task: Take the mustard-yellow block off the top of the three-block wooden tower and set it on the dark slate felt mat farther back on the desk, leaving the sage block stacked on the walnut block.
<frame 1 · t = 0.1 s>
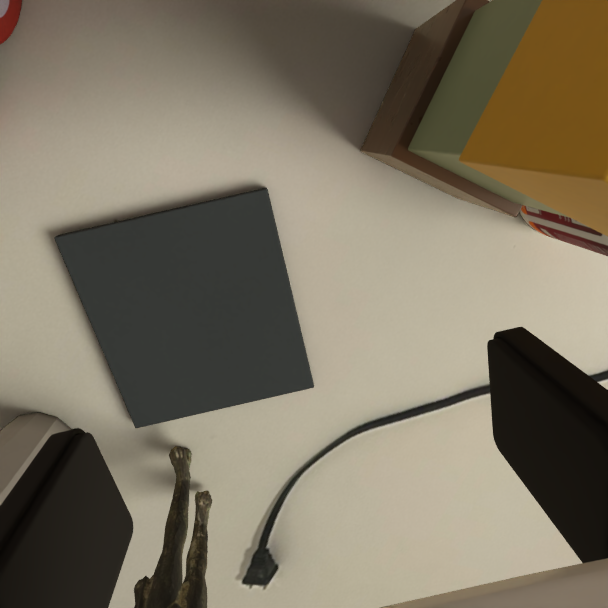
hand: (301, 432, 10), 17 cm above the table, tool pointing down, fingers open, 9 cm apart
pill bottle: (560, 182, 26), on the table
top block: (597, 104, 13), point 12 cm above the table, touching middle block
bottom block: (438, 119, 24), on the table, touching middle block
cup: (42, 439, 30), on the table
statue: (201, 463, 31), on the table
felt mat: (196, 315, 27), on the table
middle block: (495, 113, 18), point 6 cm above the table, touching bottom block, top block
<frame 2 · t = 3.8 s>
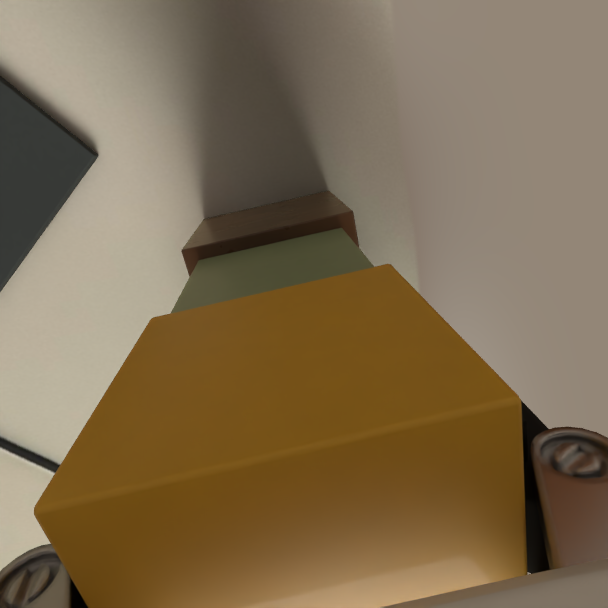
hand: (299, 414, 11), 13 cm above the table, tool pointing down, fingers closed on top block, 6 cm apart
top block: (296, 392, 12), point 12 cm above the table, touching gripper, middle block
bottom block: (280, 265, 24), on the table, touching middle block
middle block: (286, 310, 17), point 6 cm above the table, touching bottom block, top block
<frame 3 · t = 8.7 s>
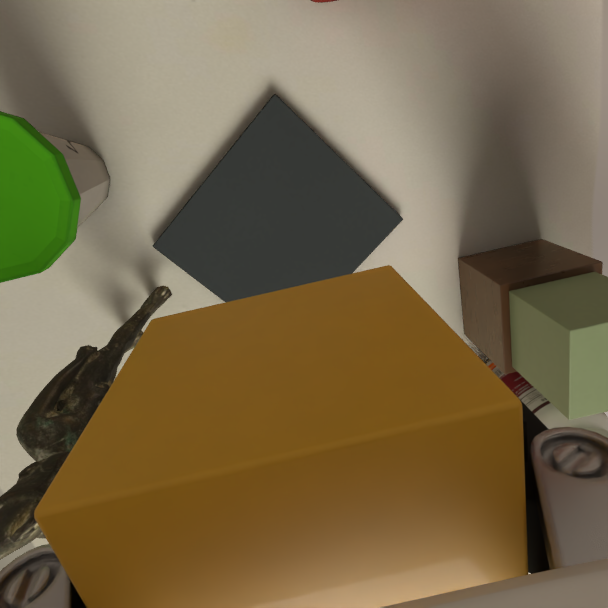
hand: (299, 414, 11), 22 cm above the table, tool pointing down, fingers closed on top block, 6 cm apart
pill bottle: (505, 379, 38), on the table
top block: (296, 393, 12), point 21 cm above the table, touching gripper
bottom block: (501, 288, 35), on the table, touching middle block
cup: (75, 177, 29), on the table
statue: (152, 314, 33), on the table
felt mat: (279, 231, 32), on the table
middle block: (551, 320, 29), point 6 cm above the table, touching bottom block
when the fingers open (2 cm above the table, at t = 13.6 s): top block stays where it is, resting on felt mat.
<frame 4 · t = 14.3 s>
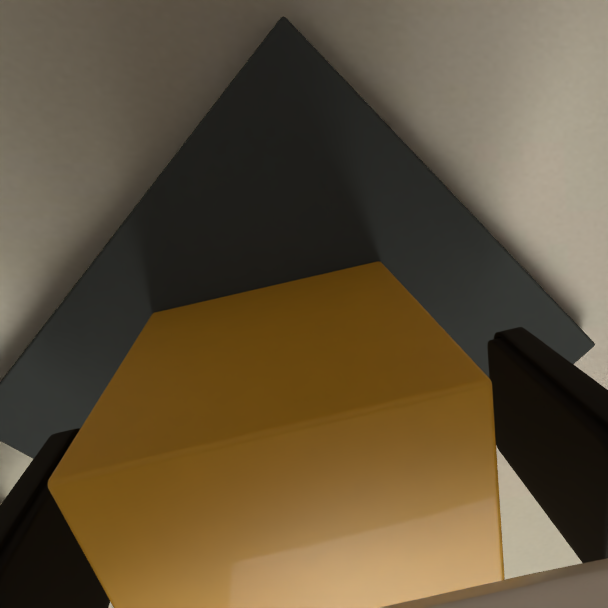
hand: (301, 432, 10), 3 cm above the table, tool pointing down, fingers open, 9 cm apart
top block: (291, 384, 12), point 1 cm above the table, touching felt mat
felt mat: (291, 372, 13), on the table
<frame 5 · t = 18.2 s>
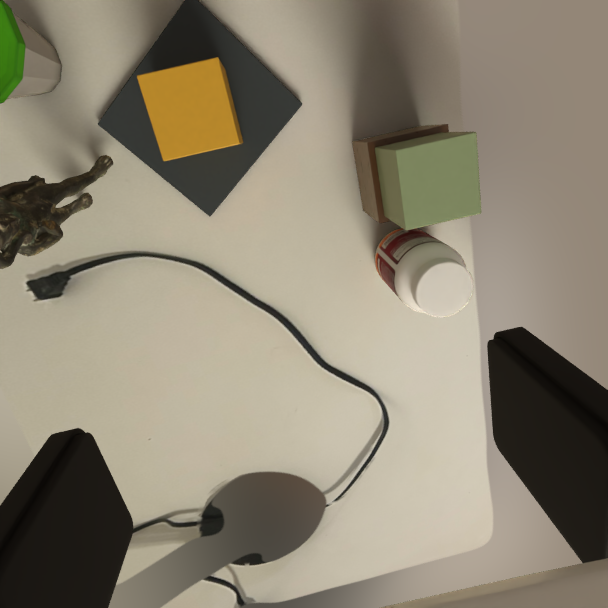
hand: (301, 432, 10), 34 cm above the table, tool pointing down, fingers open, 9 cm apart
pill bottle: (402, 255, 45), on the table
top block: (200, 114, 38), point 1 cm above the table, touching felt mat
bottom block: (391, 169, 42), on the table, touching middle block
cup: (33, 64, 37), on the table
statue: (101, 187, 41), on the table
felt mat: (201, 114, 39), on the table
middle block: (412, 175, 36), point 6 cm above the table, touching bottom block
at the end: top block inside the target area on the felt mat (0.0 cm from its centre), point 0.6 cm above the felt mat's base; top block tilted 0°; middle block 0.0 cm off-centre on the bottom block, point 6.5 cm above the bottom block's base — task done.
